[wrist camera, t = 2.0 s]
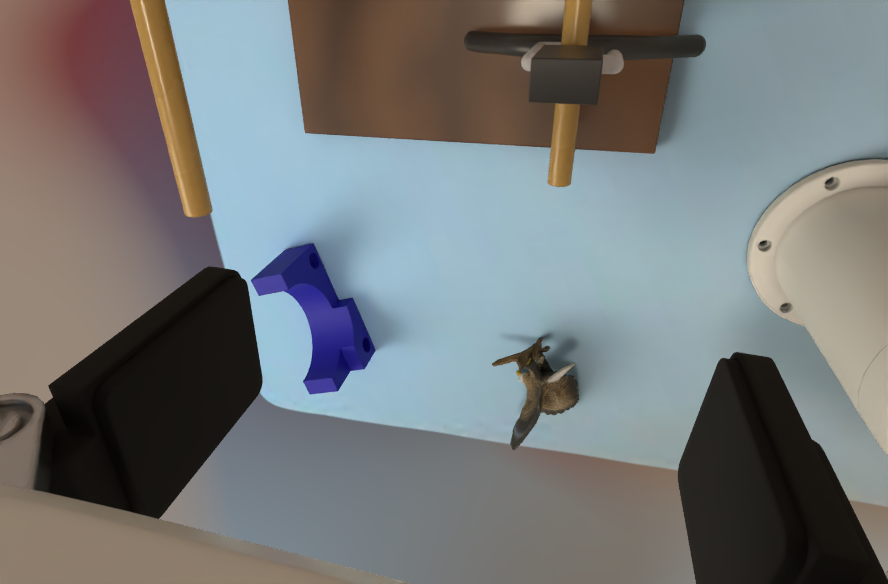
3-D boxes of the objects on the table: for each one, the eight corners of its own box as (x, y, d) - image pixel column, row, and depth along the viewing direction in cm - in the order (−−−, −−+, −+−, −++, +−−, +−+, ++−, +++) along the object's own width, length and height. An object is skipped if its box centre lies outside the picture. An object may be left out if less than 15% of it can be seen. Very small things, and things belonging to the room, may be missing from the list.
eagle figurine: (475, 348, 48) (495, 436, 51) (506, 375, 42) (527, 474, 44) (551, 323, 50) (567, 409, 52) (592, 345, 43) (609, 442, 46)
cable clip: (375, 350, 53) (352, 389, 48) (336, 355, 54) (309, 394, 49) (327, 240, 48) (296, 270, 43) (285, 249, 49) (250, 280, 44)
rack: (699, -95, 31) (837, -192, 14) (653, 149, 38) (704, 291, 21) (285, -83, 36) (1, -142, 19) (311, 129, 43) (122, 230, 26)
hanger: (707, 30, 31) (780, 64, 18) (700, 59, 32) (767, 113, 19) (466, 26, 34) (383, 53, 21) (465, 53, 35) (385, 96, 22)
